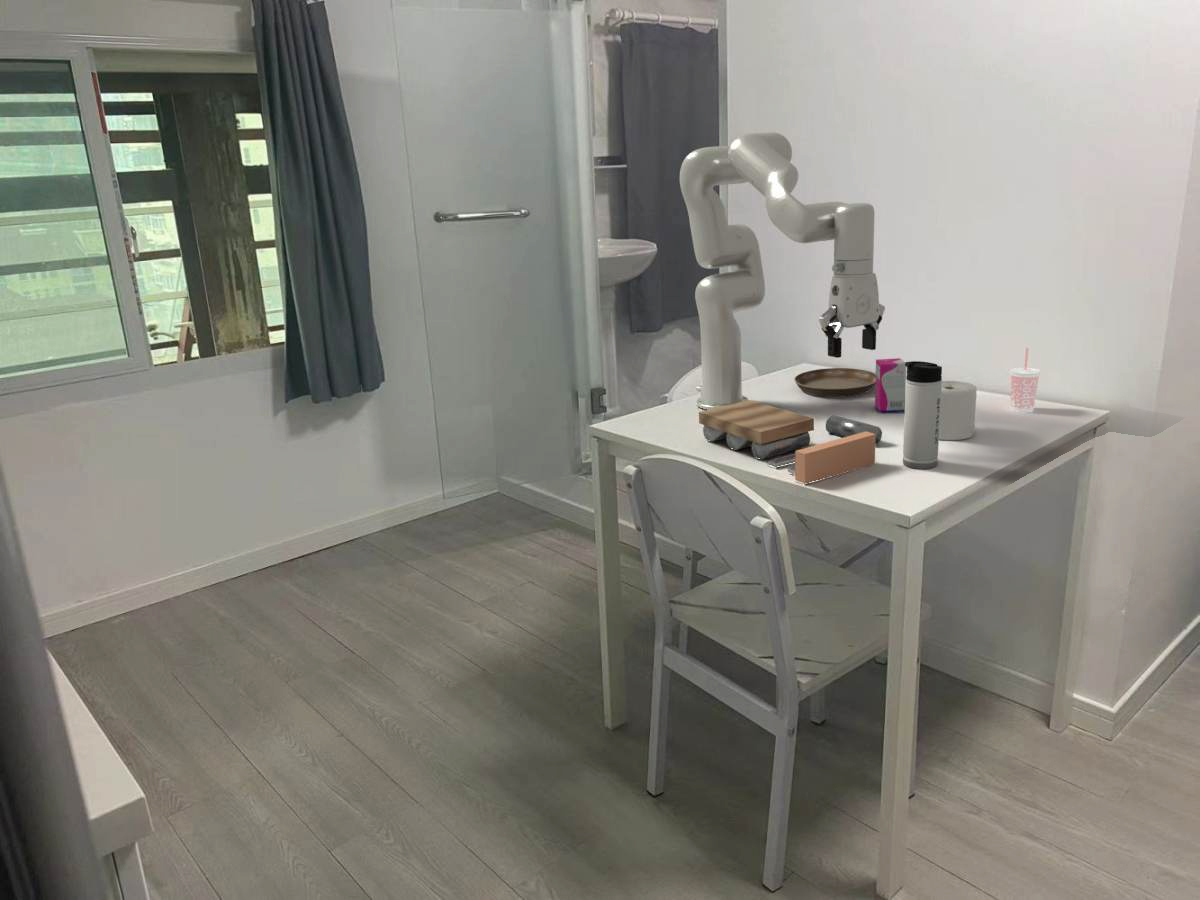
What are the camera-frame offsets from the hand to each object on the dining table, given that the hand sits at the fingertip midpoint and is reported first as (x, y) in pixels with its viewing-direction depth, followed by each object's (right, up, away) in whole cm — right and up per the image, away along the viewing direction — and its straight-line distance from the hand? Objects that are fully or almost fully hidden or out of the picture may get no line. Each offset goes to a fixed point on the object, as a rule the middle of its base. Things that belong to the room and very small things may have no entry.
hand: (851, 352), depth 188 cm
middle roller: (-19, -19, +6) cm, 27 cm away
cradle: (-11, -22, -8) cm, 26 cm away
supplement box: (+15, -11, +25) cm, 31 cm away
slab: (-19, -15, +4) cm, 25 cm away
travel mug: (+10, -23, -12) cm, 27 cm away
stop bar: (-7, -24, -14) cm, 28 cm away
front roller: (-15, -20, -1) cm, 25 cm away
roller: (+1, -17, +5) cm, 18 cm away
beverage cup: (+43, -11, +18) cm, 48 cm away
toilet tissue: (+21, -16, +5) cm, 27 cm away
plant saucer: (+8, -5, +45) cm, 46 cm away
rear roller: (-23, -17, +12) cm, 31 cm away
